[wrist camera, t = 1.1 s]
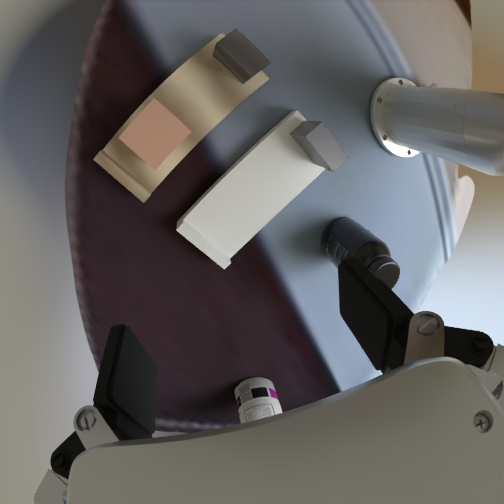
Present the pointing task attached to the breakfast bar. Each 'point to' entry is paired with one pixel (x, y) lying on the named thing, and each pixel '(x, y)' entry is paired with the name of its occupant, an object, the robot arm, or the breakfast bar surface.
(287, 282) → the breakfast bar surface
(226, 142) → the breakfast bar surface
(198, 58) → the birch strip
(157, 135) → the terracotta block
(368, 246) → the supplement bottle
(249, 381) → the supplement can
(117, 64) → the breakfast bar surface
